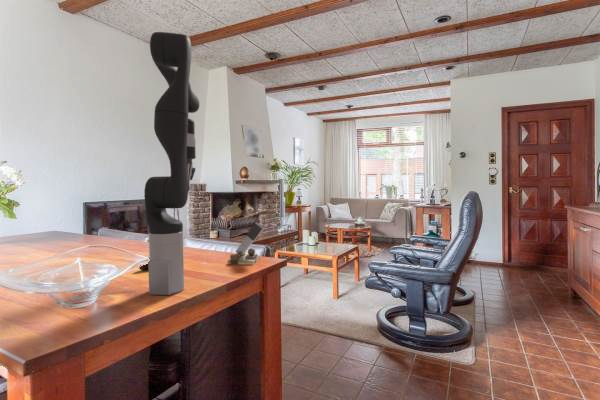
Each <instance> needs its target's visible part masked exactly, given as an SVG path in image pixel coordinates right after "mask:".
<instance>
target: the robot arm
mask: <svg viewBox="0 0 600 400" xmlns="http://www.w3.org/2000/svg"><path fill="white" fill-rule="evenodd" d="M149 50H150V55H151V58H152V61H153V63H154V65H155V66H156V67H157V69H158V71H159V72H160V75H162V76H163V78H164V79H165V81H166V82H167V85H168V88H167V89H166V90H165V91H164V93H163V94H162V95H161V96H160V98H158V99H159V100H158V101H157V102H156V104H155V107H154V118H153V120H154V123H153V129H154V130H153V131H154V133H155V135H156V138H157V140H158V141H159V143H160V145H161V147H162V148H163V149H164V151H165V153H166V156H167V157H168V161H169V167H170V176H168V175H167V176H163V175H162V176H151V177H149V178H148V179H147V180H146V183H145V185H144V190H143V191H144V205H145V207H144V208H145V221H146V223H147V227H148V240H149V241H148V247H149V248H148V251H149V256H148V258H149V259H150V261H149V262H148V268H149V269H148V294H149V295H156V296H157V295H158V296H160V295H161V296H170V295H173V294H177V293H180V292H182V291H184V289H185V276H184V275H185V274H184V273H185V272H184V226H183V225H184V224H183V222H182V221H181V220H179V219H176V218H174V217H173V216H171V215H169V213H168V212H167V209H183V208H184V207H185V205H186V204H187V202H188V198H189V197H188V196H189V192H190V182H191V181H192V180H193V178H194V175H195V173H196V167H194V166H193V160H194V159H196V157H197V156H196V137H195V136H196V135H195V133H196V132H195V127H196V126H195V121H194V119H191V118H189V113H191V114H192V113H193V114H194V113H196V112H198V110H199V109H200V100H199V98H198V95H197V93H195V92H194V90H193V89H192V88H191V87H192V86H191V83H190V77H191V76H190V75H191V65H192V43H191V39H190V36H188V35H187V34H184V33H183V34H181V33H174V32H167V31H165V32H164V31H155V32H152V34H151V36H150V41H149Z"/></svg>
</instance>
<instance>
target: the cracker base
mask: <svg viewBox="0 0 600 400" xmlns="http://www.w3.org/2000/svg"><path fill="white" fill-rule="evenodd" d="M259 260H260V254H257V253H256V250H255V249H254V248H250V247H249V248H248V249H247V254H246V252H245V253H244V255H242V256H239V254H237V253H232V254H230V258H229V259H227V265H244V266H245V265H251V266H253V265H255V264H256V263H257V262H258V261H259Z"/></svg>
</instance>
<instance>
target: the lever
mask: <svg viewBox="0 0 600 400" xmlns="http://www.w3.org/2000/svg"><path fill="white" fill-rule="evenodd" d="M264 229H265V226H263V225H262V224H261V223H259V222H258V221H257V222H255V223H254V224H253V225H252V227H251V228H250V229H249V231H248V232H247V233H246V237H244V239H243V240H242V242H241V243H240V244H239V246H238V248H236V249H235V251H234V252H235V253H236V254H239V256H242V255H244V253H245V254H246V252H248V250H249V249H250V246H251V245H252V244H253V242H255V241H256V239H257V238H258V237H259V236H260V234H261V233H262V232H263V230H264Z"/></svg>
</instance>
